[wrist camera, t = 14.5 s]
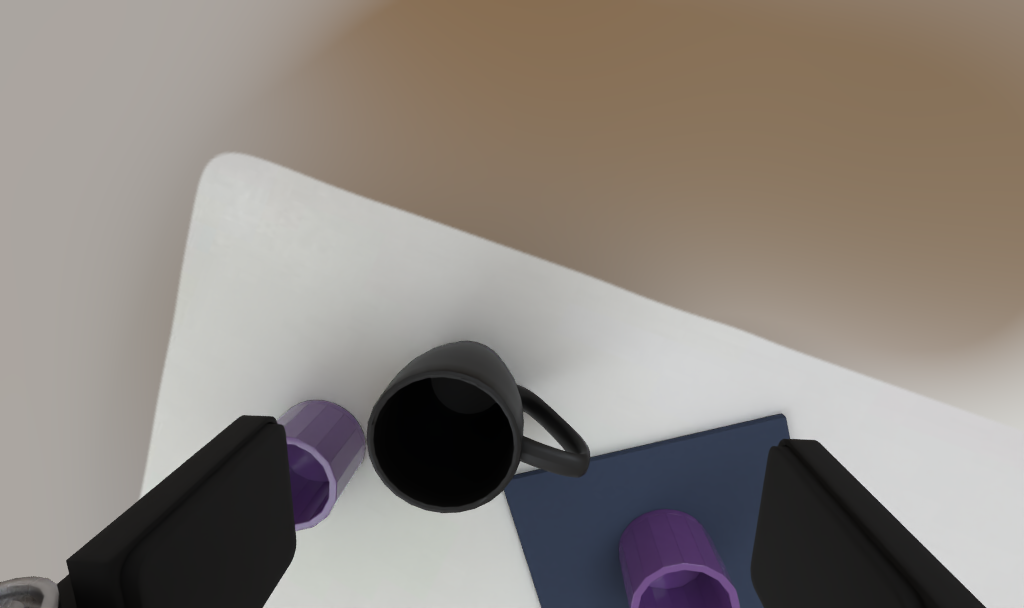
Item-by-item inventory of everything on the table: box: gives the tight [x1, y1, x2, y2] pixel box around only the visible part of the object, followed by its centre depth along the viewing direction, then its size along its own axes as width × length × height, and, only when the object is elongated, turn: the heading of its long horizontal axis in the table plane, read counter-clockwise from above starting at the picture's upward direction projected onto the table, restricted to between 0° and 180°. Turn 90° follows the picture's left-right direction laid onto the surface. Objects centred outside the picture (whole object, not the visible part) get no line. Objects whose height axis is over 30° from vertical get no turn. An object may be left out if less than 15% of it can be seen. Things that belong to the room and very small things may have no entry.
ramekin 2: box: [619, 509, 740, 608], centre depth 35 cm, size 7×7×6 cm
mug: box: [367, 341, 590, 513], centre depth 32 cm, size 8×12×10 cm
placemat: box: [504, 414, 790, 608], centre depth 38 cm, size 20×16×1 cm
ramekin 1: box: [276, 400, 365, 531], centre depth 36 cm, size 7×7×6 cm
